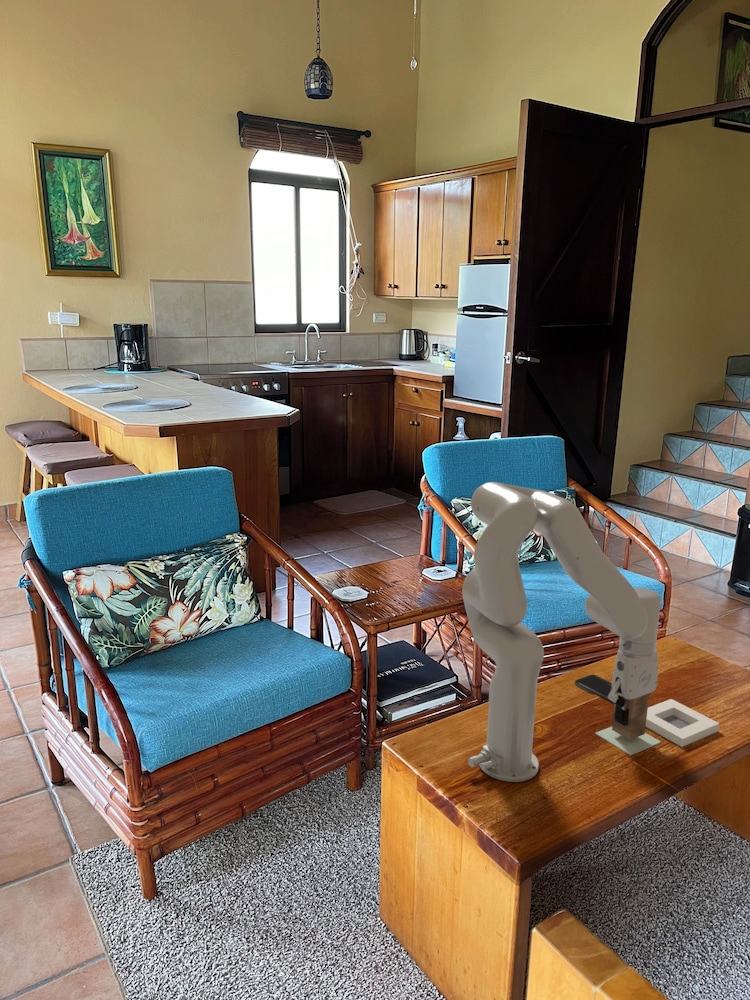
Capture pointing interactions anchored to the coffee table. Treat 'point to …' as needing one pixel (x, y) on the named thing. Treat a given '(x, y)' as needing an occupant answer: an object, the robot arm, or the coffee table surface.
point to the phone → (595, 686)
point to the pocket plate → (679, 723)
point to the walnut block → (633, 718)
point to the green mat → (628, 741)
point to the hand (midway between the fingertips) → (629, 719)
